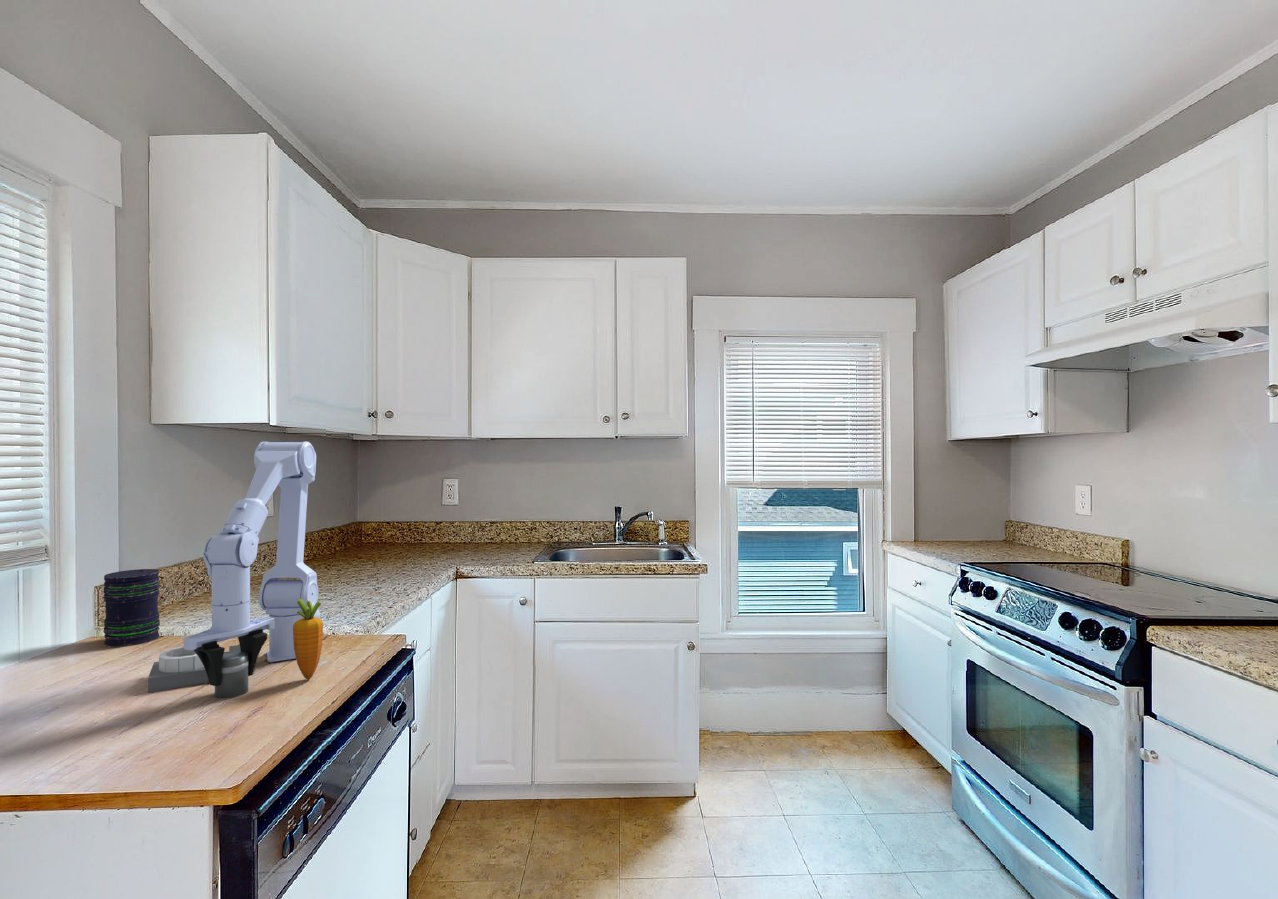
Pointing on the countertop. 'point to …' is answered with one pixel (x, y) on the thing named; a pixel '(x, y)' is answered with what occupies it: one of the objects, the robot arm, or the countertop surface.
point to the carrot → (308, 638)
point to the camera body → (179, 669)
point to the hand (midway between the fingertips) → (231, 679)
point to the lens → (233, 675)
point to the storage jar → (131, 607)
